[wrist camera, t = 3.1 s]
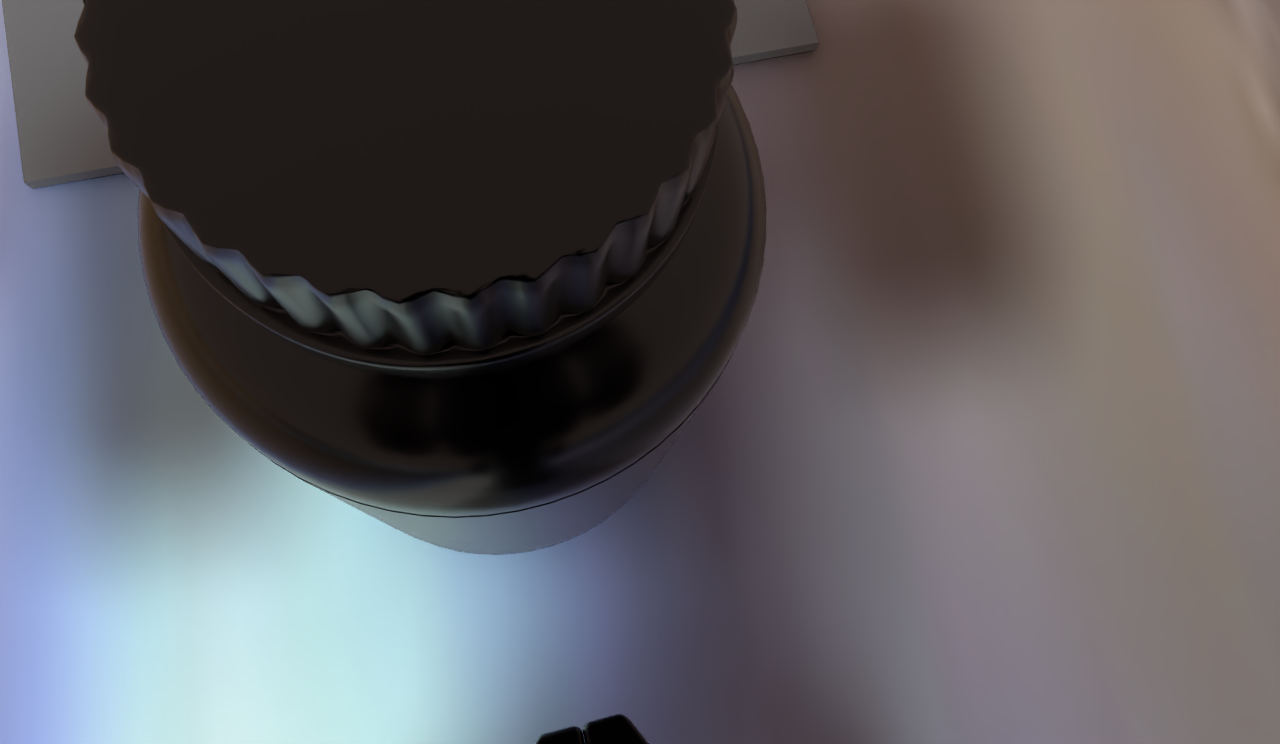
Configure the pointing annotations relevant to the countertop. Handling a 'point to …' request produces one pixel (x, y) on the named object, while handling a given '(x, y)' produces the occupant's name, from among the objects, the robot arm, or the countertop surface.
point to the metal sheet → (78, 140)
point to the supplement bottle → (441, 239)
